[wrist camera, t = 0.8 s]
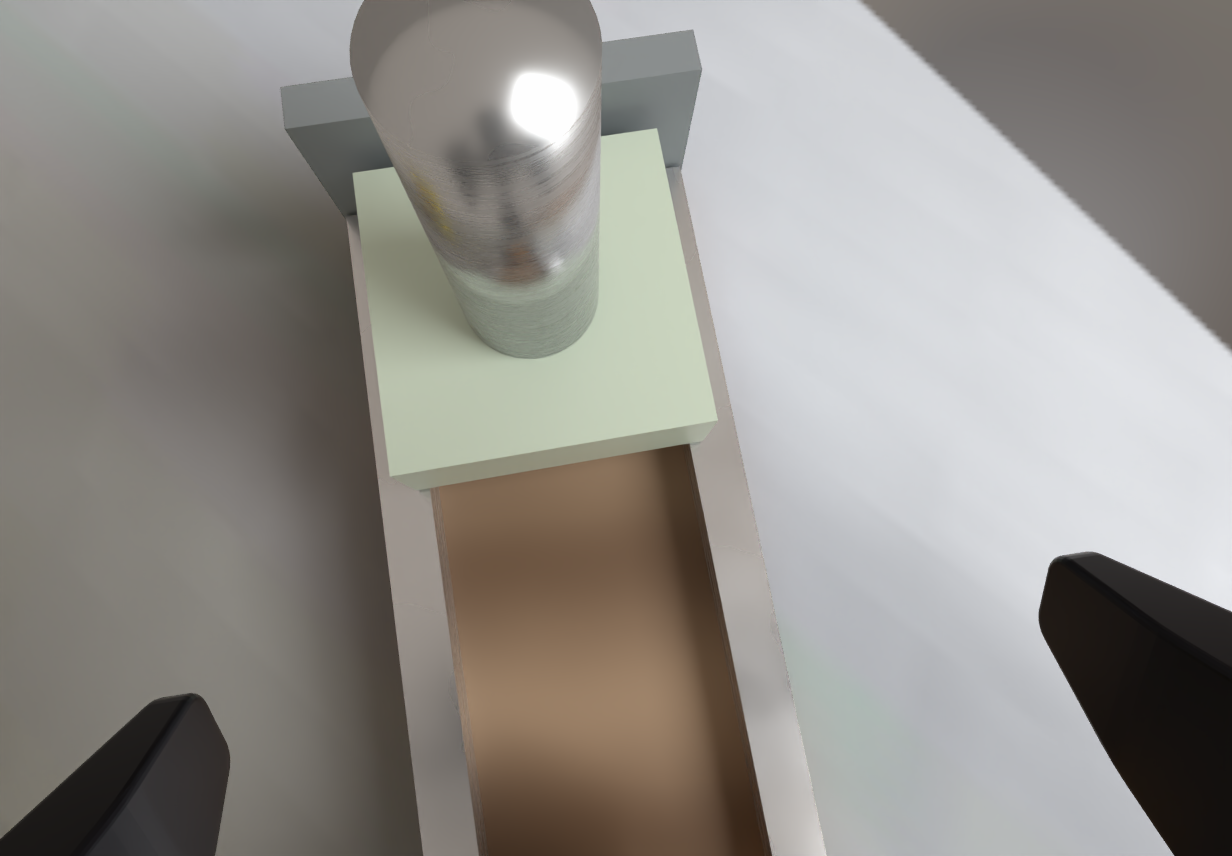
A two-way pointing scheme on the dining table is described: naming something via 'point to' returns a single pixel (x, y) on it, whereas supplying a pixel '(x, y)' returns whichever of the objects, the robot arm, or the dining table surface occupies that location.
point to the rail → (585, 590)
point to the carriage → (516, 248)
